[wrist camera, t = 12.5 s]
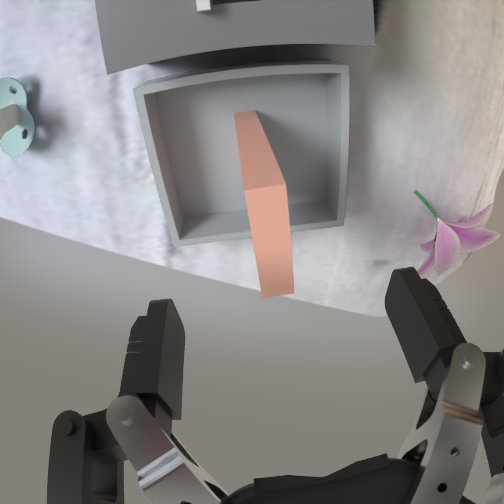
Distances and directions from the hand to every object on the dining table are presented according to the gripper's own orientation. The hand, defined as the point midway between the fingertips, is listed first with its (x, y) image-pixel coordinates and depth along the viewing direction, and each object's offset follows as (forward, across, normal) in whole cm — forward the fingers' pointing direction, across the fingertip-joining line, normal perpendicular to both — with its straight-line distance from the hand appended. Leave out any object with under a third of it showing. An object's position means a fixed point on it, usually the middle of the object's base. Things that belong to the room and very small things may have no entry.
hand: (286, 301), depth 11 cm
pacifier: (+17, +21, -8) cm, 28 cm away
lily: (+17, -19, +10) cm, 27 cm away
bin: (+17, 0, 0) cm, 17 cm away
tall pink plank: (+16, 0, 0) cm, 16 cm away
